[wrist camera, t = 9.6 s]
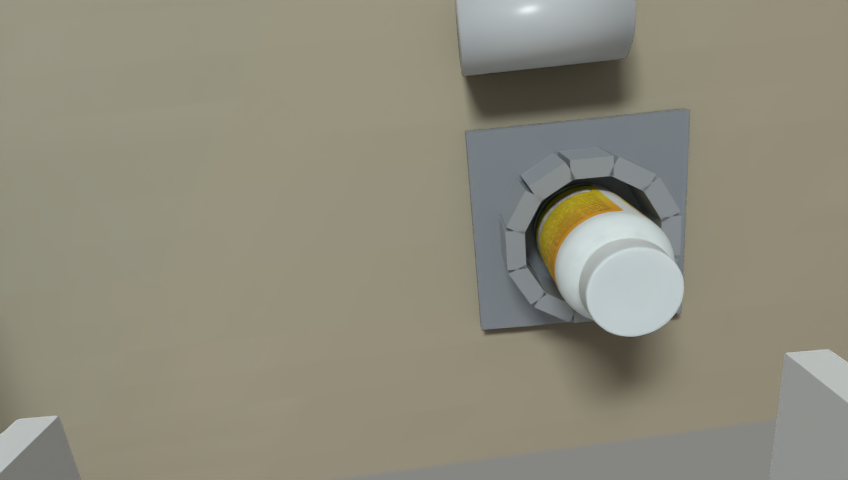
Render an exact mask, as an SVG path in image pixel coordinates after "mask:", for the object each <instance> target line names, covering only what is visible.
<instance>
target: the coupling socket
mask: <svg viewBox="0 0 848 480" xmlns="http://www.w3.org/2000/svg"><path fill="white" fill-rule="evenodd" d="M689 120H690V110H689V109H675V110H665V111H655V112H645V113H636V114H626V115H616V116H606V117H597V118H587V119H577V120H567V121H558V122H548V123H538V124H528V125H519V126H509V127H499V128H489V129H480V130H470V131H465V135H466V147H467V160H468V172H469V185H470V197H471V210H472V222H473V234H474V247H475V259H476V272H477V284H478V297H479V309H480V322H481V329H482V330H487V329H499V328H511V327H523V326H535V325H547V324H559V323H571V322H574V323H582V322H594V320H592V319H589V318H587V317H584V316H583V315H581V314H579V313H578V312H576V311H575V310H574V309H573V308H572V307H570V306H569V304H568V303H567V302H566V301H565V299H564V298H563V297H562V296H561V294H560V292H559V290H558V288H557V286H556V284H555V281H554V279H553V278H552V276H551V274H550V272H549V270H548V268H547V266H546V264H545V262H544V260H543V258H542V256H541V254H540V252H539V250H538V248H537V245H536V242H535V236H534V225H535V221H536V217H537V215H538V213H539V211H540V209H541V207H542V206H543V204H544V203H545V202H546V201H547V200H548V199H549V198H550V197H551V196H552V195H554V194H555V193H556V192H558V191H560V190H562V189H564V188H566V187H569V186H572V185H575V184H581V183H587V184H596V185H600V186H603V187H605V188H607V189H609V190H611V191H612V192H614V193H615V194H617V195H618V196H619V197H621V198H622V199H623V200H625V201H626V202H627V203H629V204H630V205H631V206H633V207H634V208H635V209H637V210H638V211H639V212H641V213H642V214H643V215H645V216H646V217H647V218H649V219H650V220H651V221H653V222H654V223H655V224H656V225H657V226H658V227H660V228H661V230H662V231H663V232H664V233H665V234H666V236H667V237H668V239H669V241H670V243H671V246H672V249H673V252H674V257H675V263H676V264H677V266H678V267H679V269H680V271H681V273H682V276H683V262H684V238H685V215H686V191H687V167H688V143H689ZM681 310H682V302H681V304H680V306H679V308H678V310H677V312H676V313H675V314H678V313H681Z"/></svg>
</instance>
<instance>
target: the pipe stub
mask: <svg viewBox="0 0 848 480" xmlns="http://www.w3.org/2000/svg"><path fill="white" fill-rule="evenodd" d="M455 3H456V22H457V35H458V47H459V57H460V66H461V73H462V76H469V75H478V74H488V73H497V72H506V71H515V70H525V69H534V68H543V67H552V66H562V65H571V64H580V63H590V62H599V61H608V60H617V59H624V58H625V57H626V56H627V54H628V53H629V51H630V48H631V45H632V42H633V37H634V31H635V22H636V0H455Z"/></svg>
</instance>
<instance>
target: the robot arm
mask: <svg viewBox="0 0 848 480" xmlns="http://www.w3.org/2000/svg"><path fill="white" fill-rule="evenodd" d="M0 480H81V477H80V474H79V472H78V469H77V466H76V463H75V460H74V457H73V454H72V452H71V449H70V446H69V443H68V440H67V437H66V434H65V432H64V429H63V426H62V423H61V420H60V417H59V416H47V417H36V418H24V419H17V420H16V421H15V422H14V423H13V424H12V425H10V426H9V427H8V428H7V429H6V430H5V431H4V432H3V433H1V434H0ZM770 480H848V362H846V361H845V360H843V359H842V358H840V357H839V356H838V355H836V354H835V353H833V352H832V351H830V350H829V349H826V350H814V351H803V352H791V353H785V358H784V366H783V374H782V382H781V390H780V398H779V407H778V415H777V423H776V432H775V440H774V448H773V455H772V464H771V472H770Z"/></svg>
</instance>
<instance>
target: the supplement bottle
mask: <svg viewBox="0 0 848 480" xmlns="http://www.w3.org/2000/svg"><path fill="white" fill-rule="evenodd" d="M534 236H535V242H536V245H537V248H538V250H539V252H540V254H541V256H542V258H543V260H544V262H545V264H546V266H547V268H548V270H549V272H550V274H551V276H552V278H553V279H554V281H555V284H556V286H557V288H558V290H559V292H560V294H561V296H562V297H563V298H564V299H565V301H566V302H567V303H568V304H569V306H570V307H572V308H573V309H574V310H575V311H576V312H578V313H579V314H581V315H583V316H584V317H587V318H589V319H592V320H594V321H595V322H596V324H598V325H599V326H600V327H602V328H603V329H604V330H606V331H608V332H610V333H612V334H615V335H619V336H625V337H635V336H641V335H645V334H648V333H651V332H654V331H656V330H658V329H659V328H661V327H662V326H664V325H665V324H666V323H667V322H668V321H669V320H670V319H671V318H672V317H673V316H674V315H675V313H676V312H677V310H678V308H679V306H680V304H681V302H682V299H683V294H684V281H683V276H682V273H681V271H680V269H679V267H678V266H677V264H676V263H675V257H674V252H673V249H672V246H671V243H670V241H669V239H668V237H667V236H666V234H665V233H664V232H663V231H662V230H661V228H660V227H658V226H657V225H656V224H655V223H654V222H653V221H651V220H650V219H649V218H647V217H646V216H645V215H643V214H642V213H641V212H639V211H638V210H637V209H635V208H634V207H633V206H631V205H630V204H629V203H627V202H626V201H625V200H623V199H622V198H621V197H619V196H618V195H617V194H615V193H614V192H612V191H611V190H609V189H607V188H605V187H603V186H600V185H596V184H587V183H581V184H575V185H572V186H569V187H566V188H564V189H562V190H560V191H558V192H556V193H555V194H554V195H552V196H551V197H550V198H549V199H548V200H547V201H546V202H545V203H544V204H543V206H542V207H541V209H540V211H539V213H538V215H537V217H536V221H535V225H534Z"/></svg>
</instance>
